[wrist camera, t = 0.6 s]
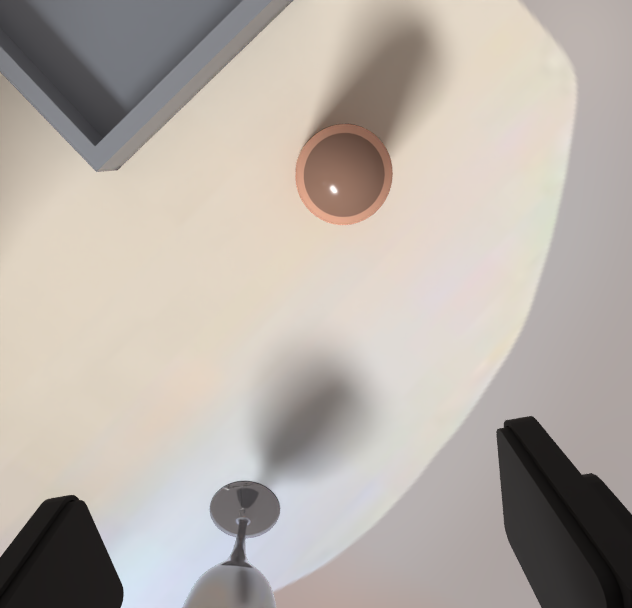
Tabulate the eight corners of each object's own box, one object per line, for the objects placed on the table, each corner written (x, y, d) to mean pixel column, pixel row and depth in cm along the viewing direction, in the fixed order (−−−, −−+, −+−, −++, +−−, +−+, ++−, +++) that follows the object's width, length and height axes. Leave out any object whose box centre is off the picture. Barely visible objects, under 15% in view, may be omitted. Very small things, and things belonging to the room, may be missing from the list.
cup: (328, 223, 38) (337, 244, 30) (280, 166, 37) (275, 169, 28) (385, 175, 37) (411, 182, 28) (338, 114, 36) (352, 101, 27)
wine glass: (246, 464, 45) (223, 607, 31) (299, 511, 47) (301, 666, 33) (189, 508, 46) (141, 665, 32) (243, 553, 49) (221, 719, 34)
